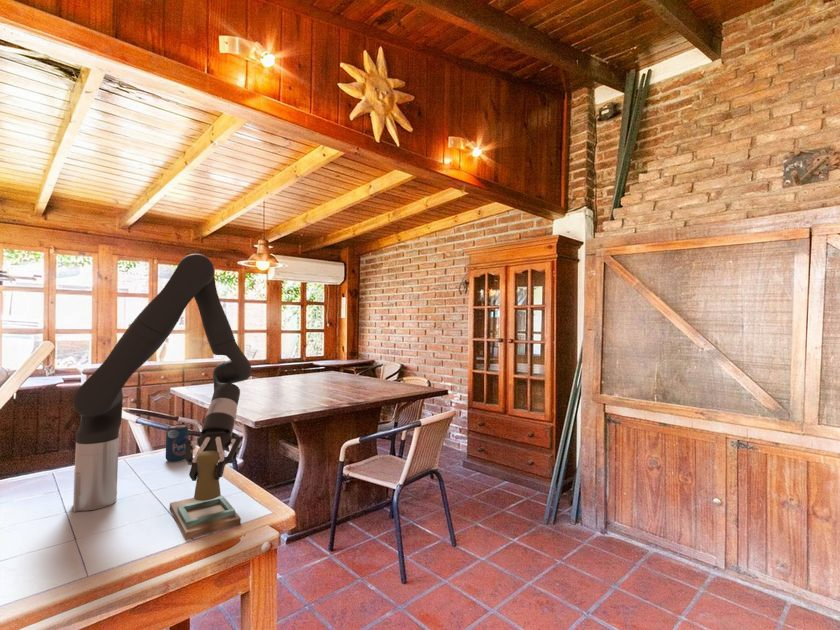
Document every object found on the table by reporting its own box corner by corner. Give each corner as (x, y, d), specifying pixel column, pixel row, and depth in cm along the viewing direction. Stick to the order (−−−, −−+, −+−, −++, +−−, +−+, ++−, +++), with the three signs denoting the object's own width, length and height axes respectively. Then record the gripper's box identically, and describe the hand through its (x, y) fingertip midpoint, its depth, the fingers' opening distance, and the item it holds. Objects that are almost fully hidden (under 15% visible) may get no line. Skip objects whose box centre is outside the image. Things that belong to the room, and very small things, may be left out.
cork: (213, 500, 104) (213, 455, 104) (188, 500, 104) (189, 455, 104) (225, 490, 110) (225, 448, 110) (201, 490, 110) (202, 448, 110)
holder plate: (185, 539, 97) (186, 527, 97) (169, 508, 112) (170, 498, 112) (240, 524, 104) (240, 513, 104) (218, 497, 120) (218, 487, 120)
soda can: (175, 464, 146) (176, 429, 147) (160, 461, 149) (161, 427, 149) (192, 458, 153) (193, 424, 153) (178, 455, 155) (179, 422, 156)
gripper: (189, 411, 113) (169, 473, 101) (245, 410, 116) (233, 470, 104) (195, 426, 118) (177, 487, 106) (249, 425, 121) (238, 484, 109)
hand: (205, 478), depth 105 cm, fingers closed on cork, 4 cm apart
